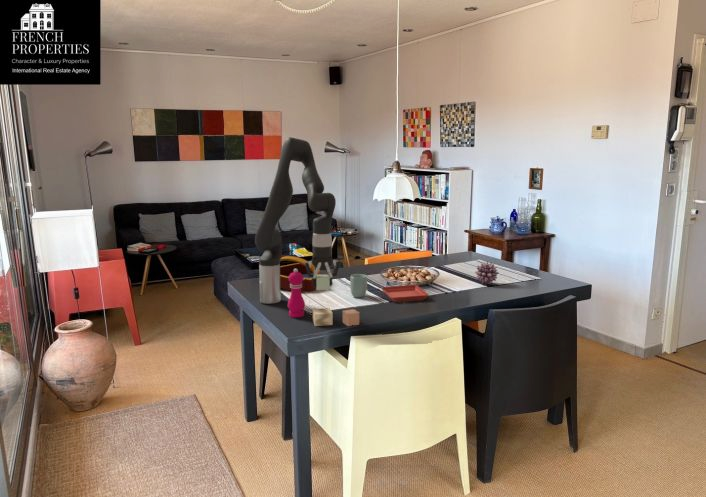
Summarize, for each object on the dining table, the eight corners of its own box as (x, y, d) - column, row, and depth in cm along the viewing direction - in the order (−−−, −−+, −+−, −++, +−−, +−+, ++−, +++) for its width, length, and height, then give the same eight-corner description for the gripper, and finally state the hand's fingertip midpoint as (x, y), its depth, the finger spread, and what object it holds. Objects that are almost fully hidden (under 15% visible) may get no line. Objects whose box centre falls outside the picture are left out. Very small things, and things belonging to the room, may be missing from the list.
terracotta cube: (347, 326, 210) (348, 314, 209) (342, 322, 214) (342, 310, 213) (359, 324, 212) (359, 312, 211) (353, 320, 216) (353, 309, 215)
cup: (365, 299, 246) (365, 278, 244) (348, 298, 248) (348, 277, 246) (368, 294, 254) (368, 274, 252) (352, 293, 255) (352, 273, 253)
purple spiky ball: (500, 283, 276) (502, 261, 273) (493, 288, 266) (494, 265, 263) (479, 280, 282) (480, 258, 279) (471, 285, 272) (472, 262, 269)
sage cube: (316, 290, 208) (316, 277, 207) (315, 287, 213) (315, 274, 212) (329, 289, 209) (329, 277, 208) (327, 286, 214) (327, 274, 213)
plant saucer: (391, 304, 240) (391, 297, 240) (380, 293, 258) (380, 286, 257) (429, 301, 244) (429, 294, 244) (415, 291, 262) (415, 284, 261)
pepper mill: (288, 312, 226) (287, 266, 222) (305, 312, 226) (304, 266, 223) (287, 318, 219) (286, 270, 215) (305, 317, 219) (304, 270, 216)
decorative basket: (254, 287, 274) (249, 260, 270) (294, 269, 295) (291, 244, 290) (299, 301, 253) (296, 271, 248) (340, 281, 274) (337, 253, 269)
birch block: (314, 326, 210) (314, 314, 209) (312, 320, 216) (312, 308, 215) (332, 325, 211) (332, 313, 210) (329, 319, 218) (329, 308, 217)
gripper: (304, 246, 203) (305, 290, 206) (341, 245, 206) (341, 288, 209) (302, 243, 210) (303, 285, 213) (338, 242, 213) (338, 283, 216)
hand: (322, 286), depth 211 cm, fingers closed on sage cube, 5 cm apart
